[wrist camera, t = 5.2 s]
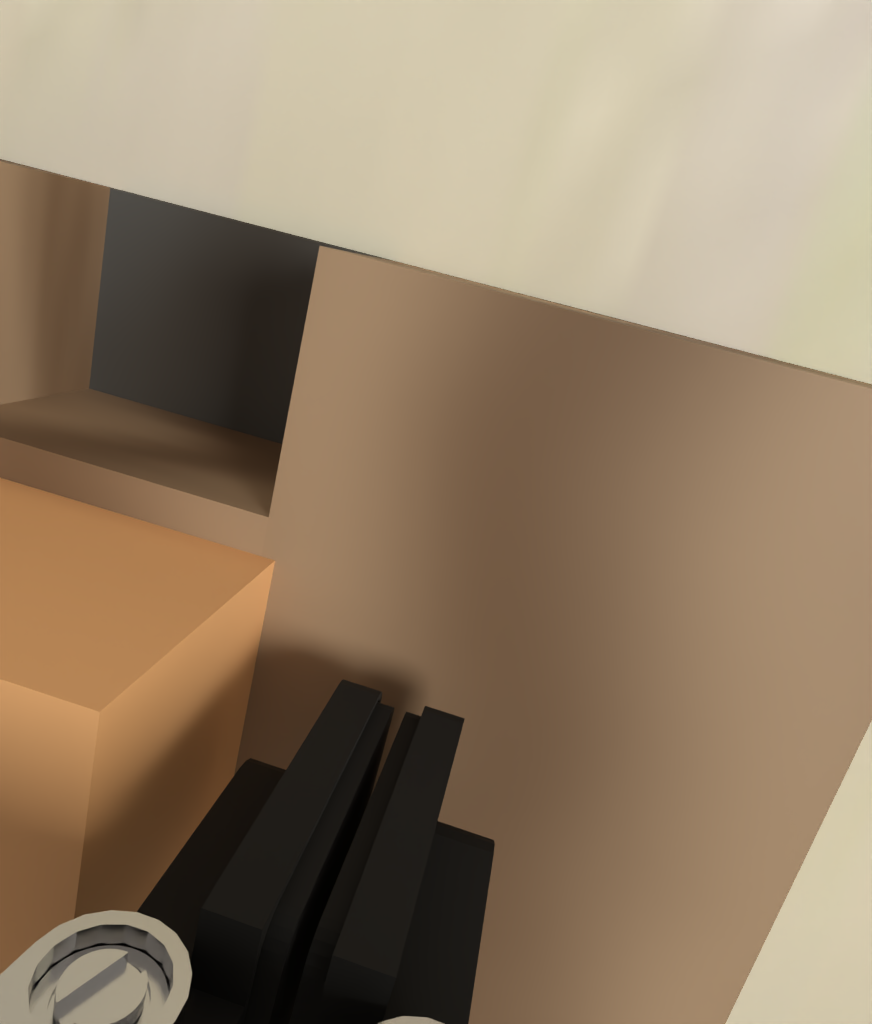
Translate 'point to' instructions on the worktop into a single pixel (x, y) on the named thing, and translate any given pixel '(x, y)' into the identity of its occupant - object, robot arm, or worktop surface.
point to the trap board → (486, 560)
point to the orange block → (111, 702)
